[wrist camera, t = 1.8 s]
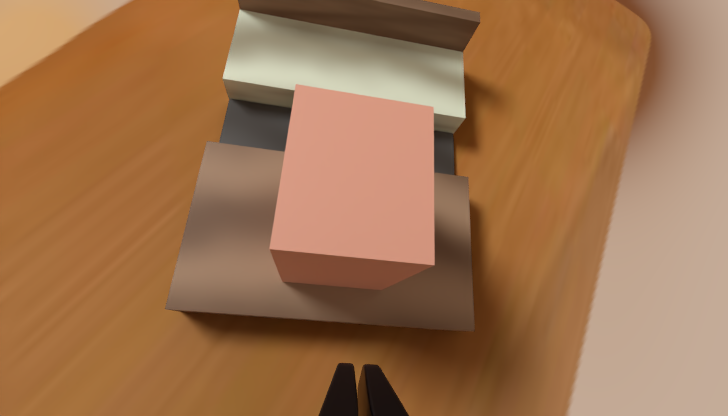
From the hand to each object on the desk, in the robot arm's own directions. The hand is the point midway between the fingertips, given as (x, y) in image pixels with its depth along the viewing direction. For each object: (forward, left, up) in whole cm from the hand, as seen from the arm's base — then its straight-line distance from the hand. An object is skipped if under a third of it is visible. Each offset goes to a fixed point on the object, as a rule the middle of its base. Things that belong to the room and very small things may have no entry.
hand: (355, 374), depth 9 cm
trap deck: (+11, -7, -14) cm, 19 cm away
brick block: (+6, -4, -11) cm, 13 cm away
